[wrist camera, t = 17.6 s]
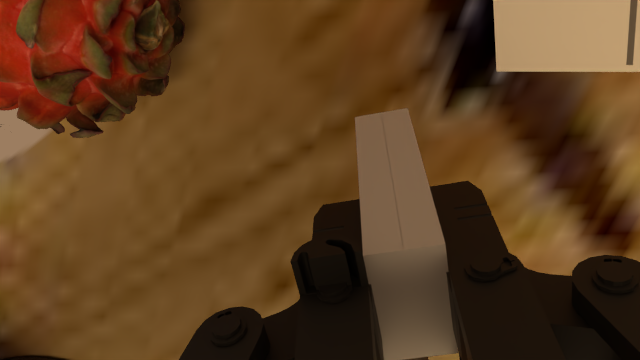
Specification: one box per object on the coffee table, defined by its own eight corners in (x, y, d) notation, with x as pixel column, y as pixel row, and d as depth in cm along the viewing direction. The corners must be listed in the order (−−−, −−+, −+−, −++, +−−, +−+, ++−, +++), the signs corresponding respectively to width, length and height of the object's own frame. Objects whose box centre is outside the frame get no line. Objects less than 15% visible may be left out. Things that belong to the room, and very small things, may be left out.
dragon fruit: (224, -43, 28) (60, 55, 33) (79, -187, 21) (-103, -35, 26) (237, 103, 24) (50, 189, 29) (68, -12, 17) (-141, 126, 22)
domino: (496, 71, 27) (798, 72, 21) (491, -40, 24) (831, -75, 18) (508, 56, 28) (794, 53, 22) (504, -51, 26) (823, -85, 20)
